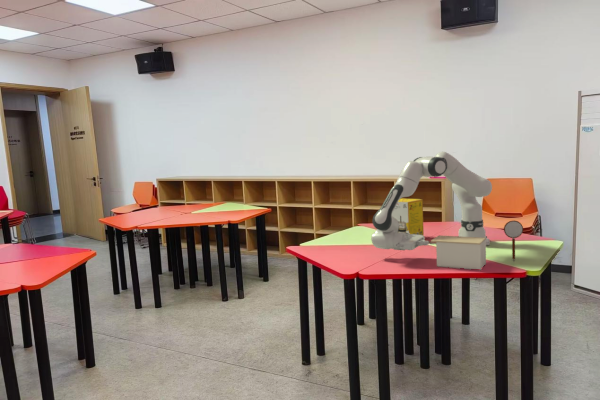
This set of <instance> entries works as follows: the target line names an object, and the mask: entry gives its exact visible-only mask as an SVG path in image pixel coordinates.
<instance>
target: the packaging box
mask: <svg viewBox="0 0 600 400" xmlns="http://www.w3.org/2000/svg"><path fill="white" fill-rule="evenodd" d="M423 200H424V199H423V198H422V199H420V198H404V197H403V198H401V199H400V200H399V201H398V203H397V205H396V206H395V208H394V210H393V212H392V216H393V217H394V218H395V219H397V221H398V222H399V229H398V233H410V234H416V235H423V236H424V237H425V234H424V208H423V206H424V205H423Z"/></svg>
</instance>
